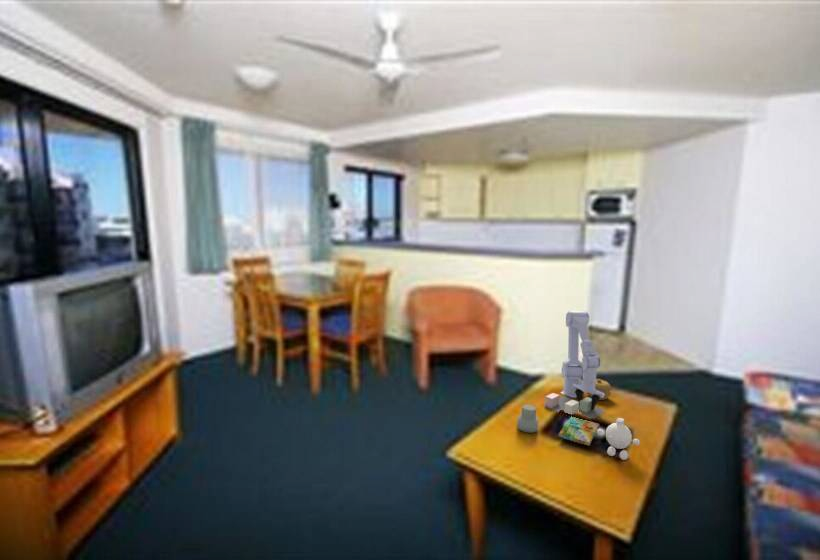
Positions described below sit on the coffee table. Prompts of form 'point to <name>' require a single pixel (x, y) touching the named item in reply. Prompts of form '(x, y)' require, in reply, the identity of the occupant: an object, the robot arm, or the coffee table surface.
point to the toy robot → (618, 438)
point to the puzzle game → (579, 430)
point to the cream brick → (571, 407)
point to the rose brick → (552, 400)
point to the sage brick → (585, 404)
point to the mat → (589, 414)
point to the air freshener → (528, 419)
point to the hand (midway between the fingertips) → (586, 407)
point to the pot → (602, 388)
